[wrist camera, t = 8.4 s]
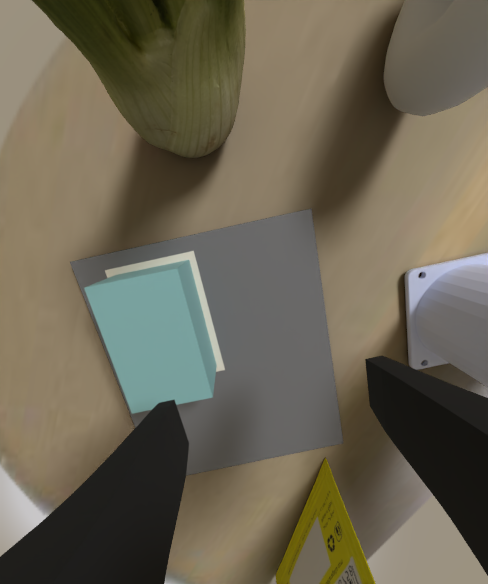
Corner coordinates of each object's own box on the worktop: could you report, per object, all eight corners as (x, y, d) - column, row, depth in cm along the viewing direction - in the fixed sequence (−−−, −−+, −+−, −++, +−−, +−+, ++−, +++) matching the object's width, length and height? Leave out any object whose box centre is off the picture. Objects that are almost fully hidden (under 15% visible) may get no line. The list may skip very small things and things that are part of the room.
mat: (308, 209, 17) (311, 208, 16) (340, 437, 21) (343, 443, 21) (75, 260, 17) (69, 262, 16) (158, 474, 22) (156, 482, 21)
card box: (216, 365, 19) (212, 397, 15) (150, 378, 19) (131, 413, 15) (189, 259, 17) (177, 268, 13) (115, 274, 17) (83, 287, 13)
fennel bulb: (241, 69, 15) (269, -547, 3) (245, 162, 16) (277, -13, 4) (140, 73, 14) (-245, -554, 3) (152, 167, 16) (-79, -2, 4)
